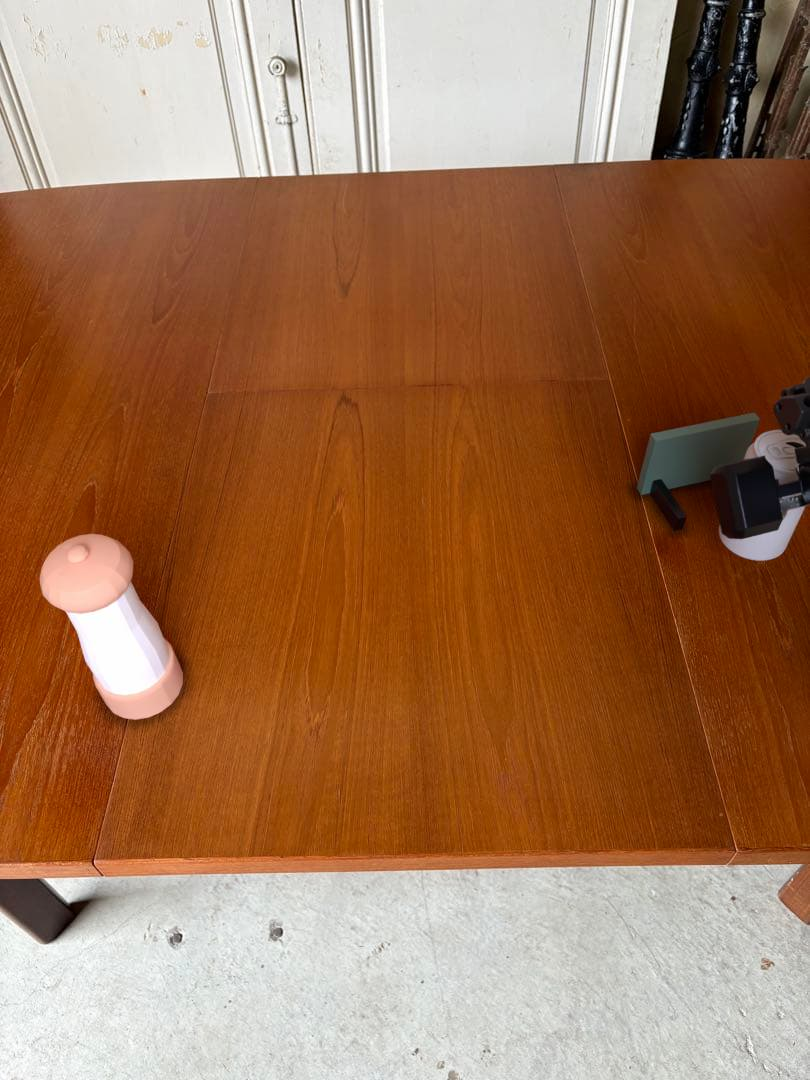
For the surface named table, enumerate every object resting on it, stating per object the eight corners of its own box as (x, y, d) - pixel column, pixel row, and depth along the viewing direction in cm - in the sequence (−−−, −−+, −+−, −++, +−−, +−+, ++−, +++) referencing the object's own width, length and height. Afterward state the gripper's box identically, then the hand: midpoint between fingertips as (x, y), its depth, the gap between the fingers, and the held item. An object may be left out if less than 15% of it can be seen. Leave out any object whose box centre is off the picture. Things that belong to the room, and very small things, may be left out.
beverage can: (795, 562, 78) (841, 470, 69) (730, 568, 78) (767, 477, 69) (768, 514, 82) (807, 422, 74) (706, 521, 82) (739, 429, 73)
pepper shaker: (95, 720, 73) (12, 589, 59) (114, 652, 78) (41, 516, 64) (175, 719, 73) (111, 586, 59) (189, 651, 78) (133, 513, 64)
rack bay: (767, 510, 88) (791, 455, 82) (665, 533, 86) (682, 479, 80) (734, 467, 92) (754, 412, 87) (636, 487, 91) (650, 433, 85)
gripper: (975, 345, 62) (833, 380, 77) (757, 393, 59) (654, 419, 74) (1000, 488, 63) (854, 494, 78) (786, 543, 60) (678, 538, 75)
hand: (762, 483), depth 76 cm, fingers closed on beverage can, 6 cm apart
